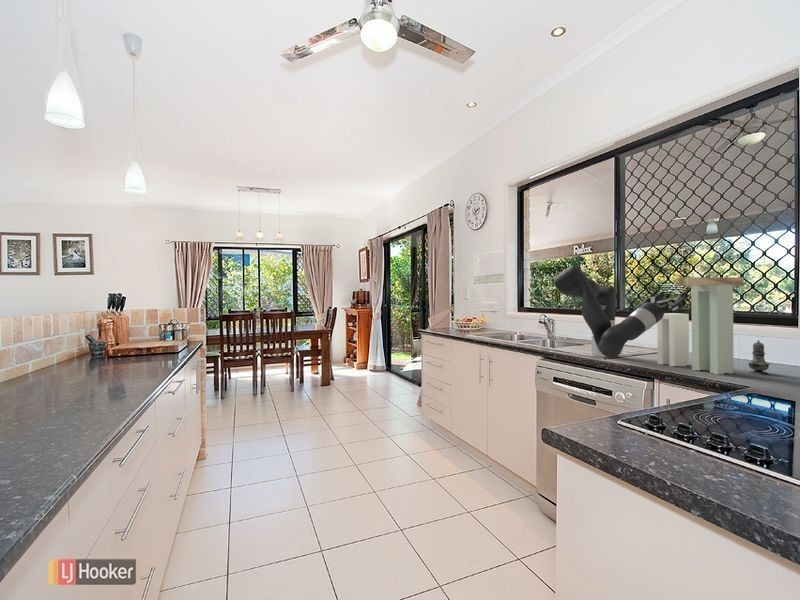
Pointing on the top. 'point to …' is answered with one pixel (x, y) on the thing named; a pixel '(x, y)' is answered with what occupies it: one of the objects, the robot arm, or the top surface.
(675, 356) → the cream shelf
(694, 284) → the oak slat
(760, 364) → the salt shaker
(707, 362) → the sage stand
